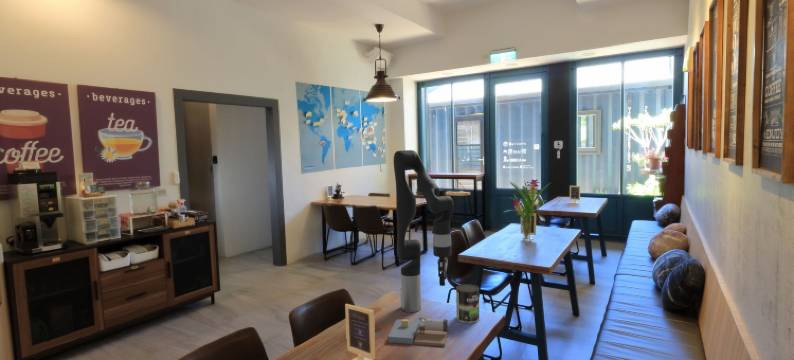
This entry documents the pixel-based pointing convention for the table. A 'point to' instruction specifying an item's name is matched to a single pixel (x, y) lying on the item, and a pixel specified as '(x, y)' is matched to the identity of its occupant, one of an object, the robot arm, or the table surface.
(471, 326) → the table surface
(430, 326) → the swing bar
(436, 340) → the frame
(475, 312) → the coffee can
